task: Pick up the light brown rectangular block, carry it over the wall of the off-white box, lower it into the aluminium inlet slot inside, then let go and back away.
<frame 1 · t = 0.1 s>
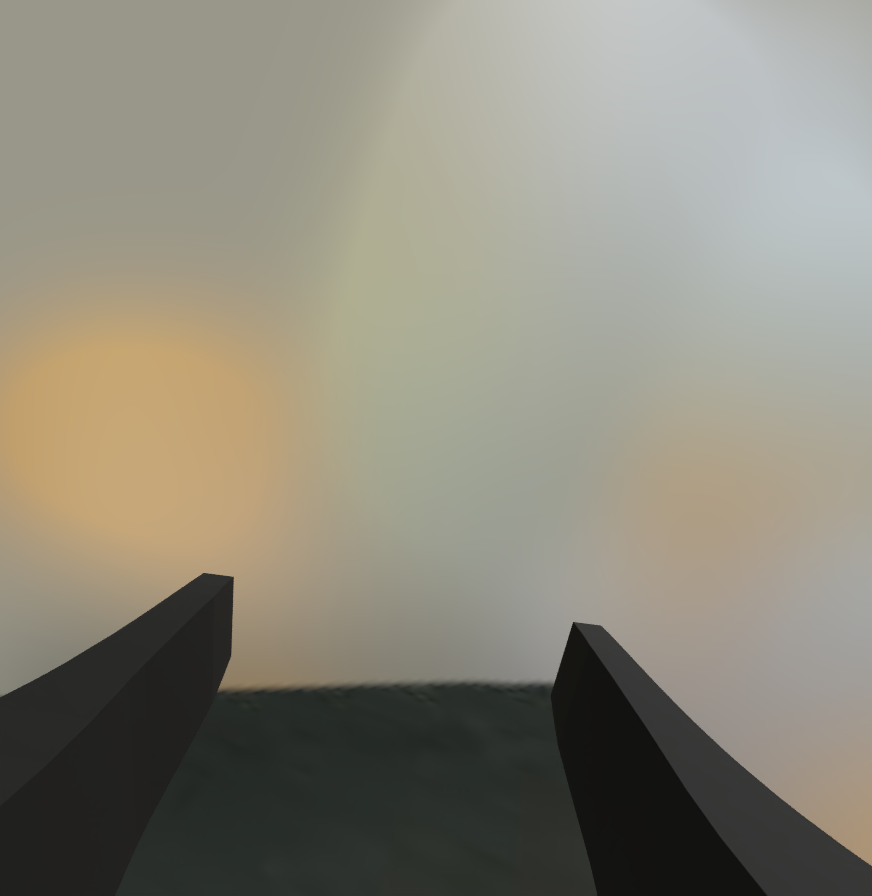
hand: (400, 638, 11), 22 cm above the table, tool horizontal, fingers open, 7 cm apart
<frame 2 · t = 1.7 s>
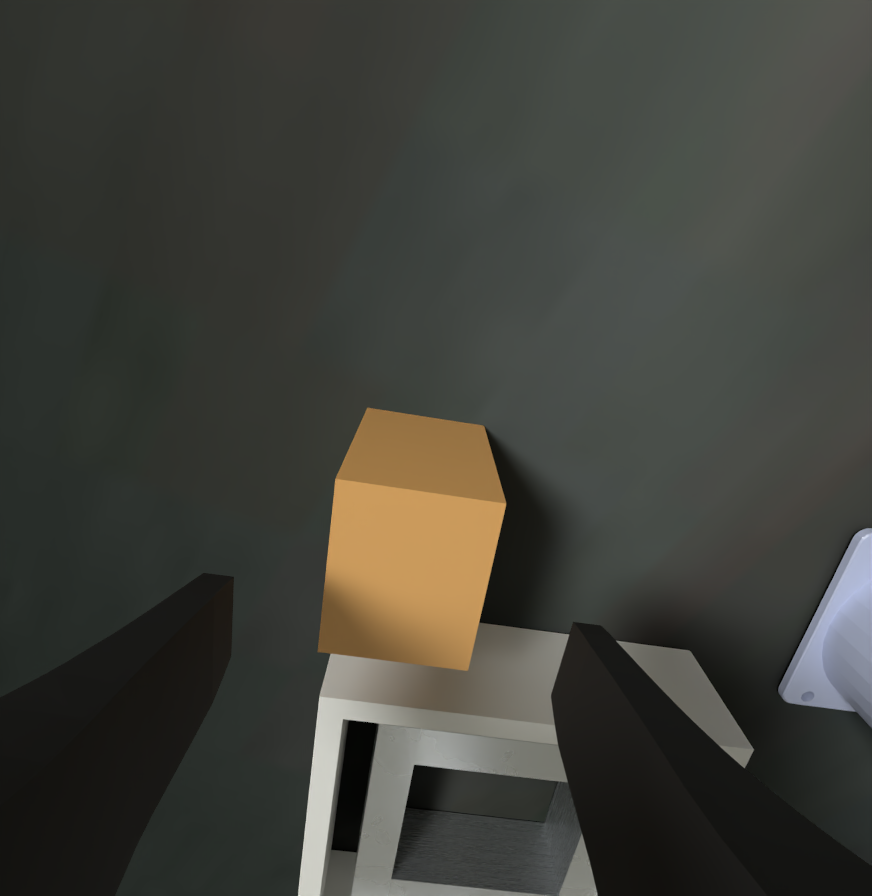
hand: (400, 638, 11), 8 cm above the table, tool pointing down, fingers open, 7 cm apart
light brown rectangular block: (415, 483, 19), on the table
walled box: (484, 764, 23), on the table
inlet socket: (487, 797, 22), in the walled box
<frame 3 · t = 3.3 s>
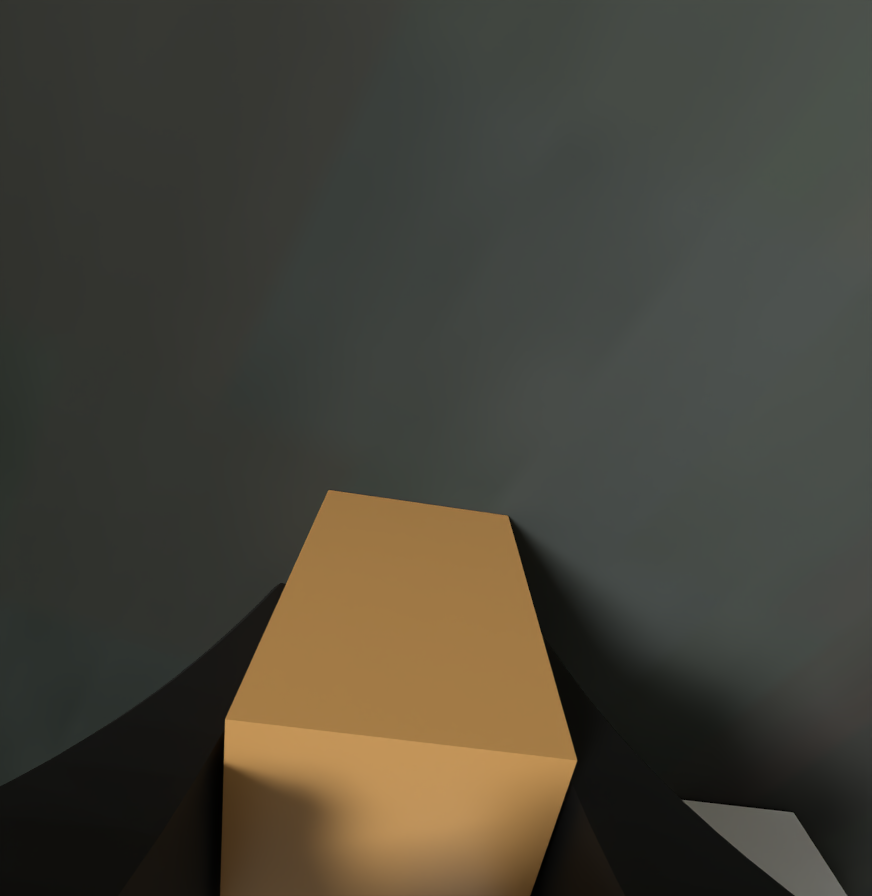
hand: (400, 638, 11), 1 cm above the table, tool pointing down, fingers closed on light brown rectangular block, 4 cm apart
light brown rectangular block: (403, 597, 12), on the table, touching gripper
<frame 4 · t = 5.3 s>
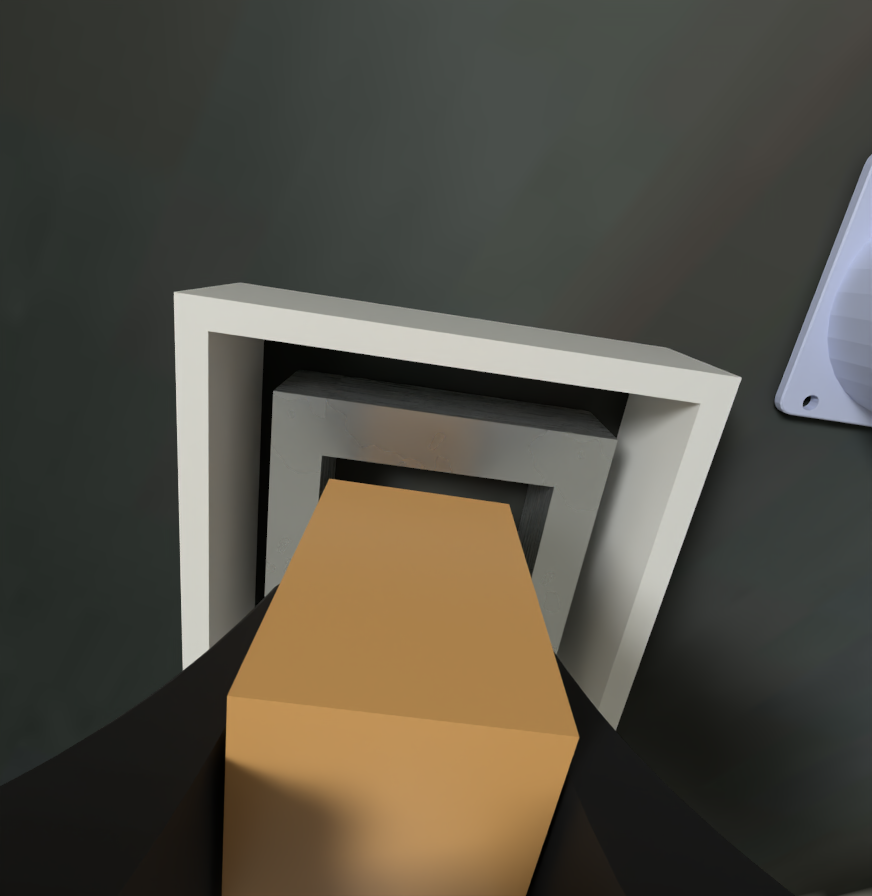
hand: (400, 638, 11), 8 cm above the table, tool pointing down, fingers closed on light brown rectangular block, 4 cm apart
light brown rectangular block: (404, 586, 12), point 7 cm above the table, touching gripper
walled box: (425, 519, 19), on the table
inlet socket: (425, 540, 18), in the walled box
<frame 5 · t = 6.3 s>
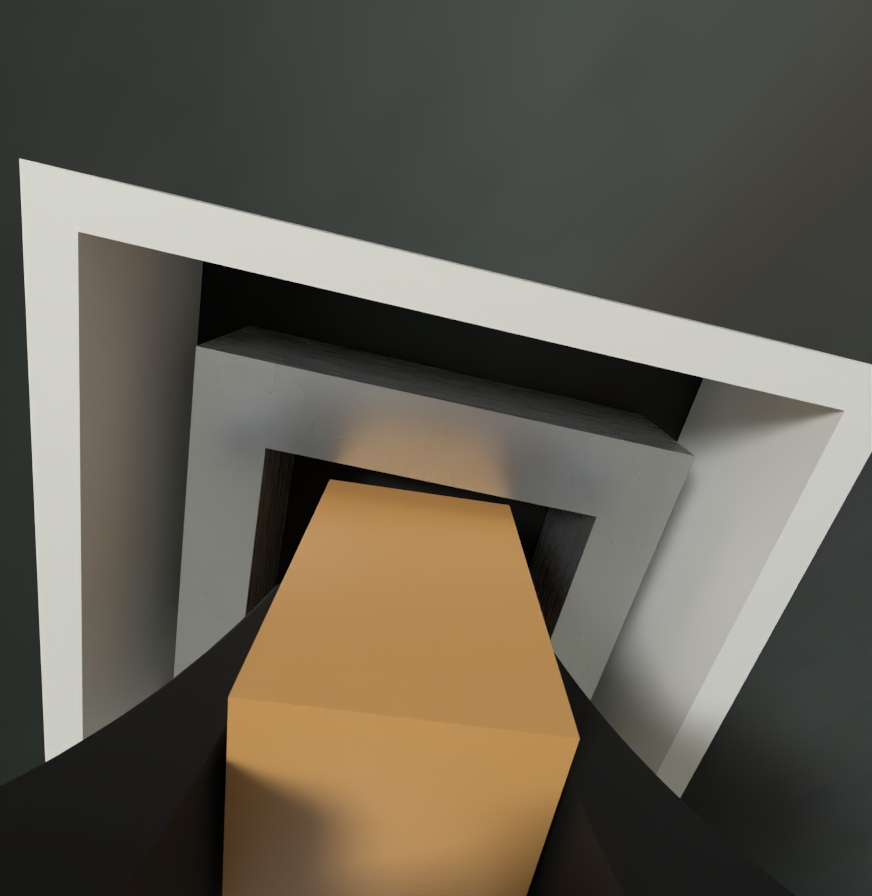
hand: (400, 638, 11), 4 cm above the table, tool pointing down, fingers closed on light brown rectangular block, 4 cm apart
light brown rectangular block: (404, 587, 12), point 2 cm above the table, touching gripper
walled box: (409, 542, 15), on the table
inlet socket: (407, 572, 13), in the walled box
when the fingers open (3 cm above the table, at t = 7.2 s): light brown rectangular block drops 2 cm, resting in inlet socket.
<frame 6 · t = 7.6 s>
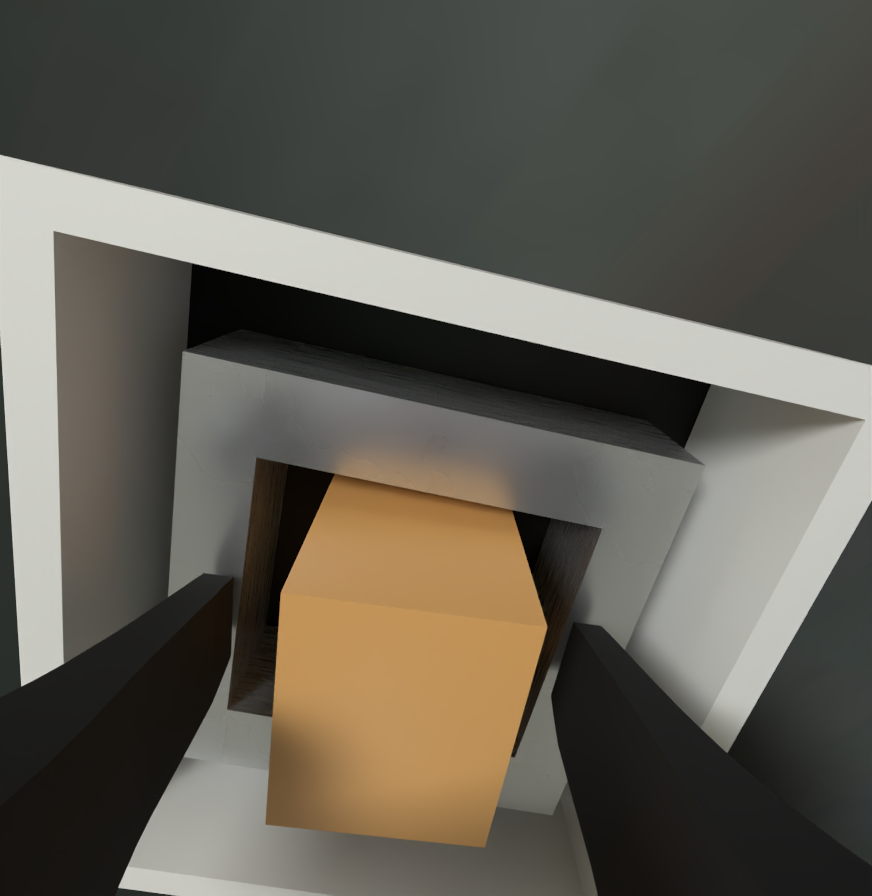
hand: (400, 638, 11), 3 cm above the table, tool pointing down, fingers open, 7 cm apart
light brown rectangular block: (410, 544, 14), resting in inlet socket
walled box: (407, 552, 14), on the table
inlet socket: (404, 584, 13), in the walled box
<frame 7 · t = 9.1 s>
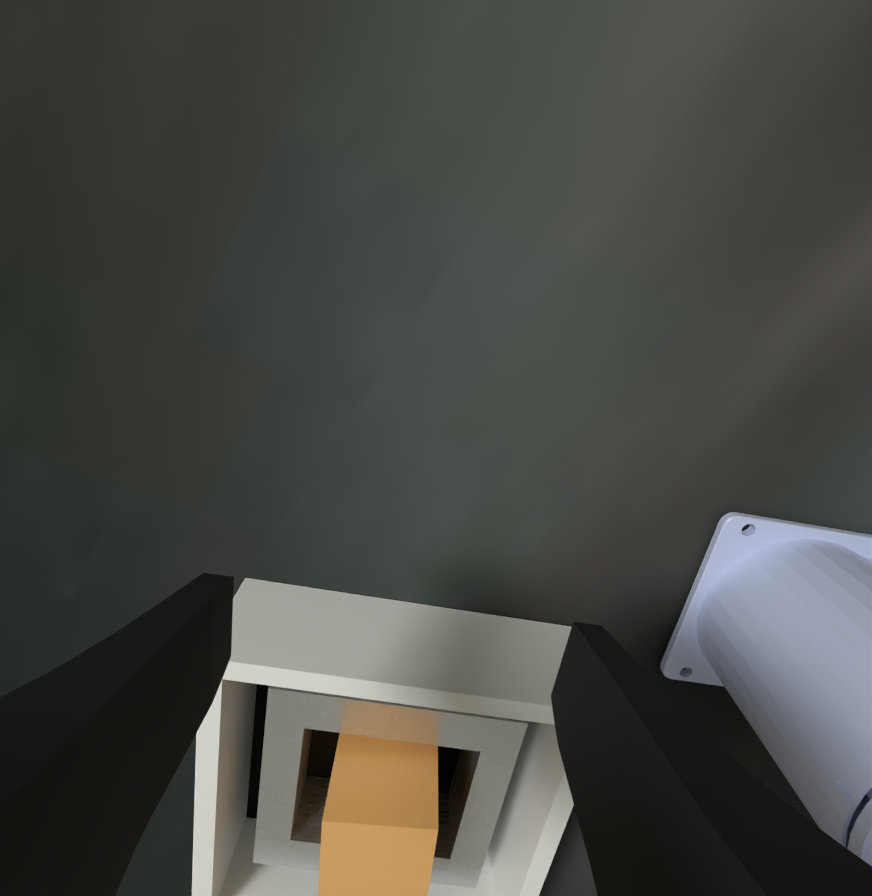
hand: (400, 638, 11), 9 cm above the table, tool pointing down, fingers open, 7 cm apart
light brown rectangular block: (389, 730, 24), resting in inlet socket
walled box: (387, 735, 24), on the table
inlet socket: (384, 764, 23), in the walled box
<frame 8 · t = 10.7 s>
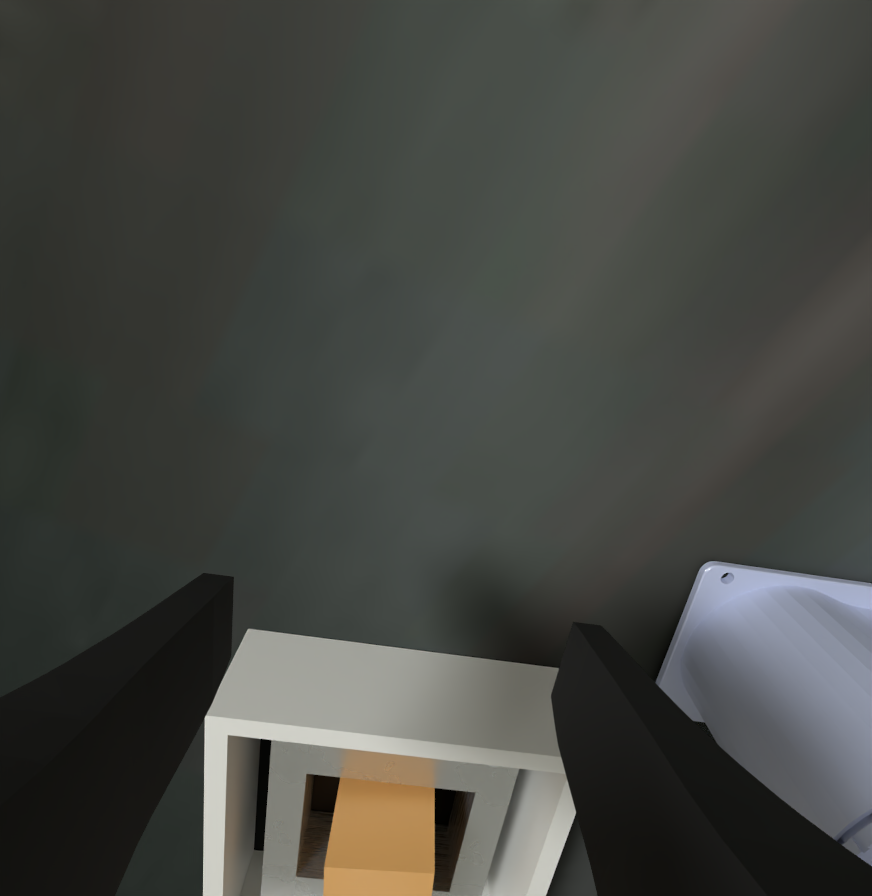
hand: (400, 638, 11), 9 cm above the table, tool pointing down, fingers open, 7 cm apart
light brown rectangular block: (388, 767, 25), resting in inlet socket
walled box: (387, 771, 25), on the table
inlet socket: (385, 802, 24), in the walled box
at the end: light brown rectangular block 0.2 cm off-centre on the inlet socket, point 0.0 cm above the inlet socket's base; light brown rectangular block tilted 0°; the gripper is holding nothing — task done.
